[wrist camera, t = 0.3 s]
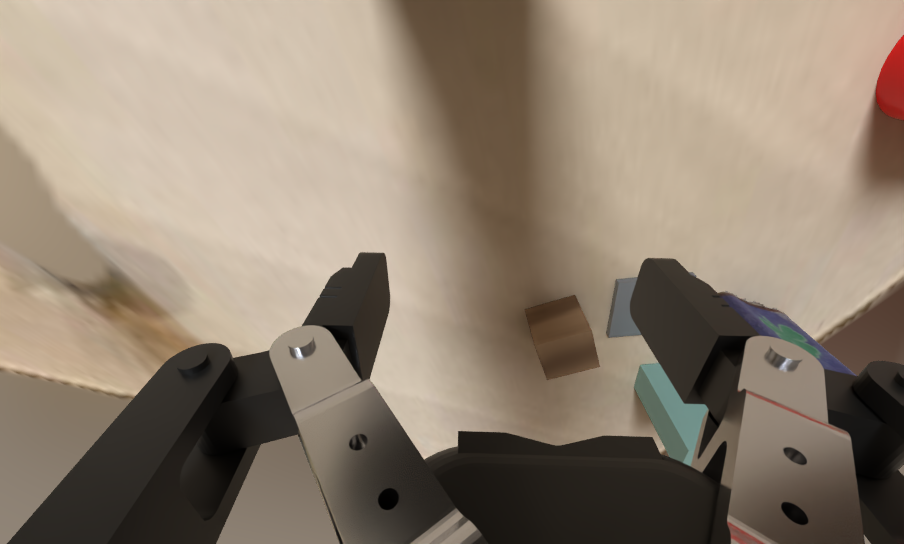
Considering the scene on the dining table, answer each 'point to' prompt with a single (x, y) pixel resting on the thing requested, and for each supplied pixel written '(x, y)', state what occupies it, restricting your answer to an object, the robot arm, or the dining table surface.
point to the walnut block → (562, 337)
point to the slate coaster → (623, 309)
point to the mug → (892, 83)
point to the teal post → (669, 412)
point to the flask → (782, 329)
